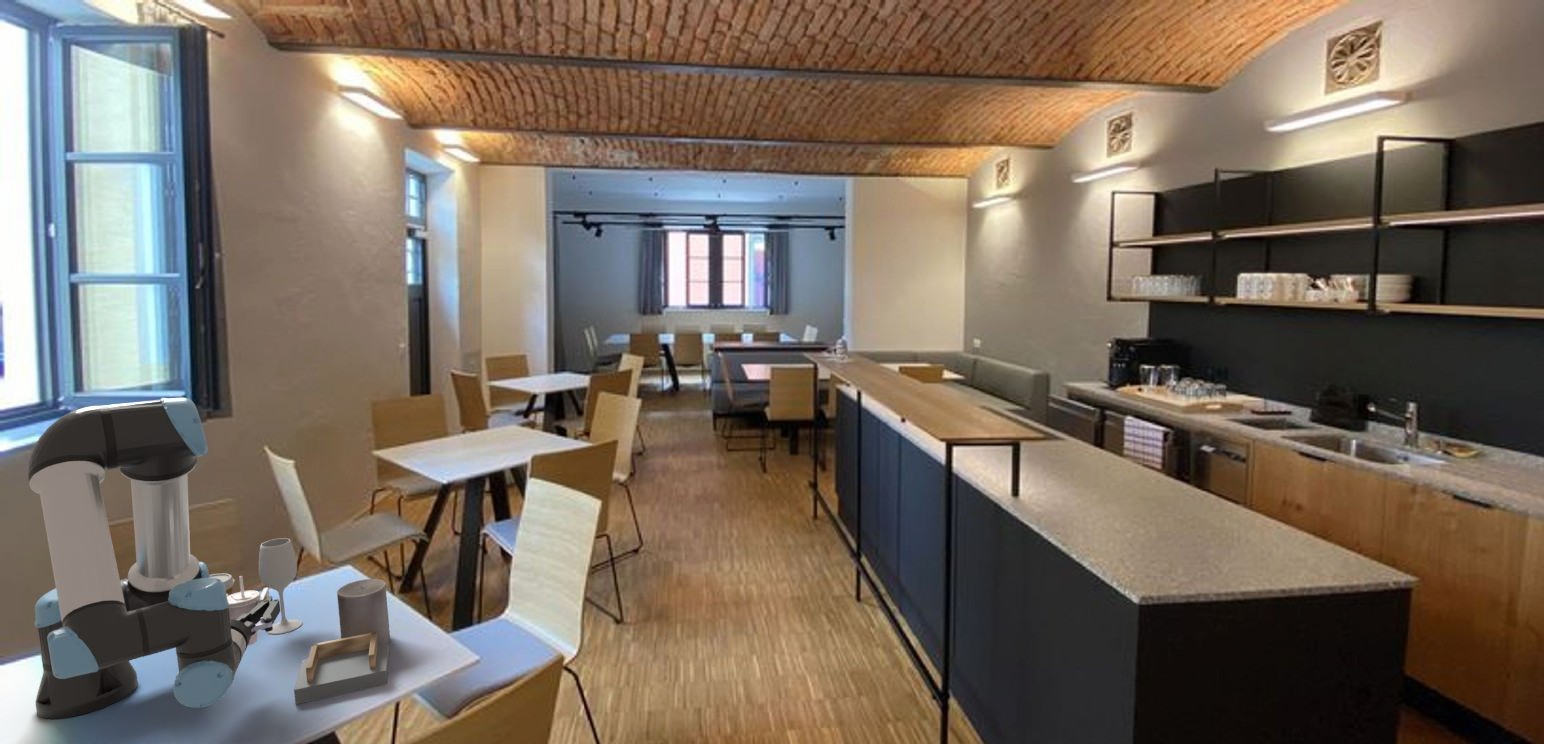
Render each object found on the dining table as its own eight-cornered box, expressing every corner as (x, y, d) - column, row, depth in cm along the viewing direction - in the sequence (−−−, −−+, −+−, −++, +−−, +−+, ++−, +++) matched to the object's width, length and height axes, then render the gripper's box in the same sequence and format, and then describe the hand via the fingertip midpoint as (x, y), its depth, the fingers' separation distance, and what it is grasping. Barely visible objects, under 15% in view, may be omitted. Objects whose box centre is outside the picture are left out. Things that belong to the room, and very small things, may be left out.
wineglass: (279, 619, 185) (270, 536, 182) (310, 619, 185) (301, 536, 182) (257, 634, 178) (248, 548, 175) (289, 634, 177) (280, 548, 175)
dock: (295, 704, 148) (294, 689, 148) (304, 672, 160) (302, 659, 159) (387, 684, 155) (385, 670, 154) (389, 655, 167) (387, 642, 166)
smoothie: (245, 651, 149) (237, 583, 147) (218, 648, 151) (210, 581, 149) (272, 636, 155) (265, 570, 154) (246, 633, 157) (239, 568, 155)
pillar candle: (339, 643, 173) (332, 580, 171) (386, 630, 179) (380, 569, 176) (346, 660, 165) (339, 595, 163) (395, 646, 171) (389, 583, 169)
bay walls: (307, 682, 150) (305, 668, 150) (313, 657, 160) (312, 643, 160) (375, 668, 155) (374, 654, 155) (377, 644, 165) (376, 631, 165)
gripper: (157, 679, 132) (191, 623, 153) (286, 654, 140) (303, 604, 161) (151, 638, 131) (187, 588, 152) (282, 615, 139) (299, 571, 160)
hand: (246, 597), depth 157 cm, fingers closed on smoothie, 6 cm apart
